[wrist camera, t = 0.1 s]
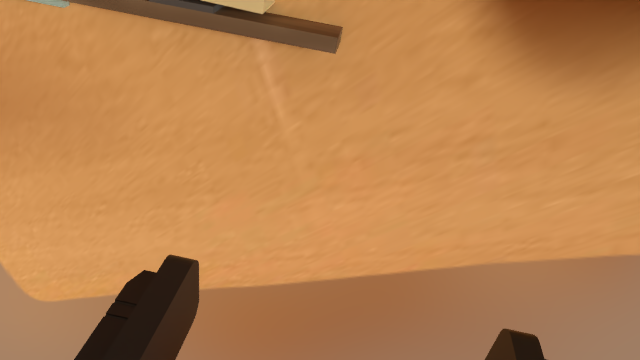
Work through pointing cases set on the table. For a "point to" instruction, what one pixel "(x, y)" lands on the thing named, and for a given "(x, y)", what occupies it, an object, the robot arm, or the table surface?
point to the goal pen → (53, 2)
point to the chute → (231, 21)
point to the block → (246, 4)
